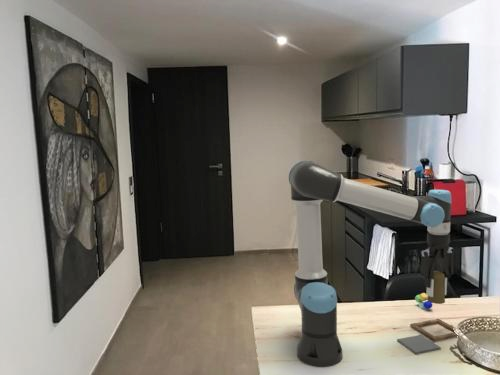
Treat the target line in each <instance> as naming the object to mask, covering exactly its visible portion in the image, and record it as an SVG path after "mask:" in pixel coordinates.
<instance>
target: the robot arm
mask: <svg viewBox="0 0 500 375" xmlns="http://www.w3.org/2000/svg"><path fill="white" fill-rule="evenodd" d="M288 182H289V185H290V193H291V194H290V197H291V198H290V199H291V201H292V202H293V204H295V214H296V234H297V235H296V238H297V257H298V269H297V270H296V271H295V273H294V281H295V282H294V284H293V286H294V287H293V291H294V292H293V293H294V297H295V299H296V300H297V303H298V305H299V308H300V311H301V312H300V313H301V334H300V337H299V339H298V342H297V343H298V344H297V347H296V356H297V359H299V360H300V361H301V362H303V363H304V364H306V365H309V366H313V367H329V366H334V365H336V364H338V363H340V361H342V359H343V348H342V345H341V341H340V339H339V336H338V331H337V330H338V328H337V327H338V323H337V322H338V318H337V317H338V316H337V315H338V314H337V313H338V310H337V308H338V307H337V306H338V305H337V304H338V296H337V292H336V289H335V288H334V286H332V285H330V284H328V272H327V271H326V270H325V269H324V265H323V244H322V239H323V238H322V220H321V219H322V218H321V217H322V216H321V215H322V214H321V213H322V212H321V211H322V210H321V203H322V202H323V201H327V202H330V203H335V202H337V201H338V202H341V203H346V204H350V205H353V206H356V207H361V208H364V209H368V210H371V211H375V212H379V213H382V214H386V215H390V216H393V217H398V218H400V219H405V220H408V221H411V222H414V223H418V224H422V225H424V226H425V227H427V229H426V230H427V234H426V242H427V247H426V249H425V250H420V252H419V253H420V257H421V259H420V277H422V278H424V281H425V283H424V284H425V286H424V287H426V295H428V296H430V297H433V287H434V279H432V276H433V272H434V271H435V268H436V263H438V261H439V265H440V270H441V271H440V272H442V273H444V275H445V279H444V281H443V287H444V296H447V293H448V291H447V287H448V285H449V279H450V278H451V276H453V275H454V269H455V267H454V266H455V265H454V262H455V260H454V259H455V252H456V248H454V247H451V246H449V244H450V243H451V234H450V232H451V214H452V203H453V202H452V193H451V191H449V190H446V189H430V190H428V194H427V195H422V196H421V195H419V196H415V195H413V196H412V195H405V194H402V193H399V192H395V191H392V190H389V189H388V190H387V189H386V188H385V189H384V188H380V187H377V186H374V185H370V184H366V183H363V182H360V181H357V180H352V179H350V178H349V179H348V178H345V177H344V176H343V175H342V173H339V172H336V171H333V170H331V169H328V168H326V167H324V166H323V165H320V164H319V163H316V162H314V161H312V160H300V161H299V162H297V163H296V162H295V164H294V165H292V167H291V169H290V170H289V173H288Z"/></svg>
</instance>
